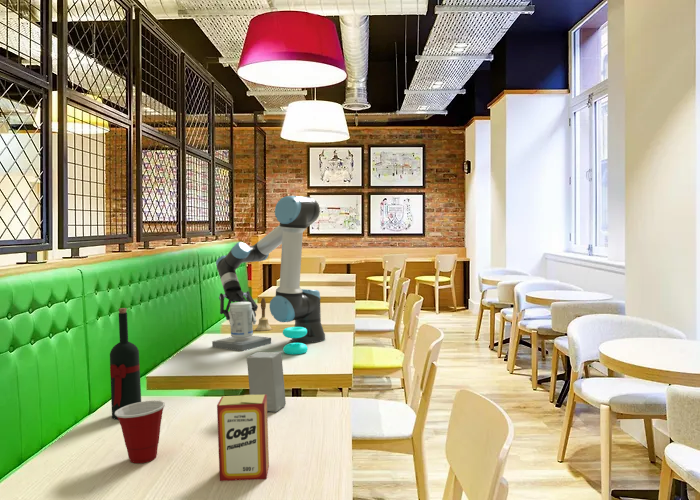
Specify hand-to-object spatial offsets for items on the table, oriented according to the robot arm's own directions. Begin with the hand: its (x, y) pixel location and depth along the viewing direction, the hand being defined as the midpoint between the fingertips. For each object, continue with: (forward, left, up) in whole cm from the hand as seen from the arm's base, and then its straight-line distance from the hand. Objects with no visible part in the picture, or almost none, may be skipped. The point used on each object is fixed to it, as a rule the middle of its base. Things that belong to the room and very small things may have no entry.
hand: (243, 323), depth 260 cm
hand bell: (+22, -36, -10) cm, 44 cm away
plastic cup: (-69, +105, -10) cm, 126 cm away
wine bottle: (-39, +88, -10) cm, 96 cm away
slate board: (+3, -1, -10) cm, 10 cm away
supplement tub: (+3, -1, -6) cm, 7 cm away
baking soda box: (-95, +99, -10) cm, 137 cm away
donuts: (-28, 0, -10) cm, 30 cm away
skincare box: (-69, +63, -10) cm, 94 cm away
